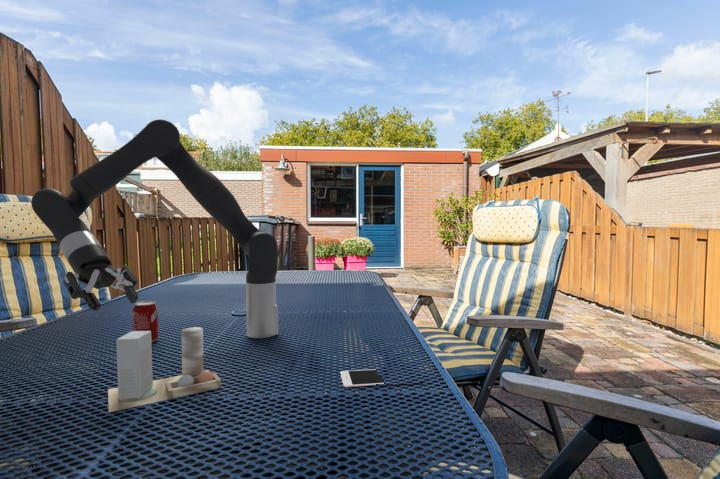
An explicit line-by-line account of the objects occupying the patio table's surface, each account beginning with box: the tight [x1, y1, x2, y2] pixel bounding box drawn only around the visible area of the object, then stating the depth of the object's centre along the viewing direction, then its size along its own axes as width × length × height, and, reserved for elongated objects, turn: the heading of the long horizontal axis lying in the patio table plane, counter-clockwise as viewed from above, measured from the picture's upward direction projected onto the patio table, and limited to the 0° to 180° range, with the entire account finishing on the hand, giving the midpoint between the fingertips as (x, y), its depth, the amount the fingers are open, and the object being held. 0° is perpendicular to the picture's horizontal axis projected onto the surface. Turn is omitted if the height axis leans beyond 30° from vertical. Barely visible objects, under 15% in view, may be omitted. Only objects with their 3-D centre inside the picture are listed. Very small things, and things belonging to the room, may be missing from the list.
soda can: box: [131, 300, 159, 343], centre depth 119 cm, size 7×7×12 cm
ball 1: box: [177, 375, 194, 387], centre depth 81 cm, size 3×3×3 cm
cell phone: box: [339, 368, 384, 389], centre depth 91 cm, size 9×18×1 cm, turn 98°
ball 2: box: [198, 370, 214, 383], centre depth 83 cm, size 3×3×3 cm
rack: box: [107, 326, 222, 413], centre depth 82 cm, size 20×12×12 cm, turn 123°
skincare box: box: [115, 330, 154, 399], centre depth 79 cm, size 6×4×12 cm
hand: (117, 304), depth 90 cm, fingers open, 8 cm apart
